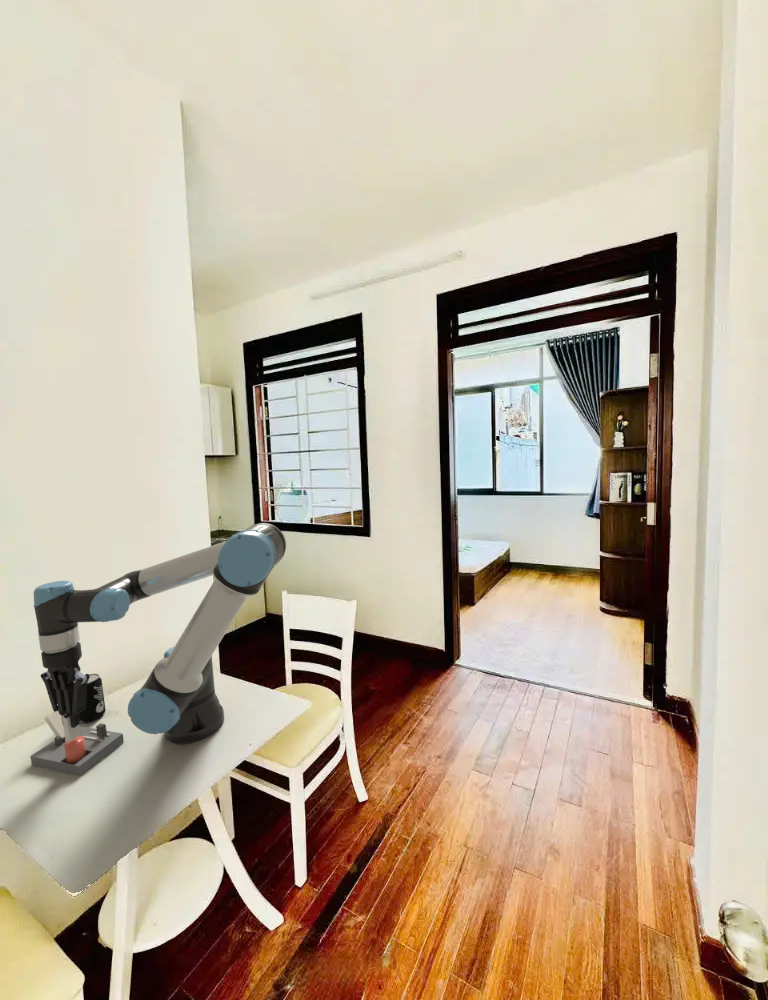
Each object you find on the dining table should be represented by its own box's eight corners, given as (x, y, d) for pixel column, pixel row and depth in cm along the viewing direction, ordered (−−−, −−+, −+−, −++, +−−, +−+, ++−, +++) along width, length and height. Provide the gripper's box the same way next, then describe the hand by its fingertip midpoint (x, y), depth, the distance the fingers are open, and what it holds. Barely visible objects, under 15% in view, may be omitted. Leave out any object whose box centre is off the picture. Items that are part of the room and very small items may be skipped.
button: (90, 754, 104) (88, 737, 104) (74, 765, 100) (72, 748, 100) (78, 751, 105) (76, 734, 105) (62, 763, 102) (60, 745, 101)
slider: (107, 734, 110) (105, 724, 109) (102, 737, 109) (101, 727, 108) (101, 733, 110) (100, 723, 110) (97, 736, 109) (96, 726, 109)
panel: (123, 742, 111) (121, 726, 111) (80, 775, 100) (77, 758, 99) (78, 733, 116) (76, 718, 115) (31, 765, 104) (29, 748, 104)
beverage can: (92, 725, 119) (86, 685, 118) (73, 723, 121) (67, 684, 119) (111, 711, 126) (106, 673, 124) (93, 709, 127) (88, 672, 126)
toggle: (74, 732, 111) (58, 709, 111) (63, 740, 108) (46, 716, 109) (72, 735, 111) (55, 712, 112) (60, 742, 108) (44, 718, 109)
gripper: (96, 641, 102) (107, 731, 104) (56, 637, 105) (68, 724, 108) (65, 656, 94) (78, 752, 97) (24, 651, 98) (37, 744, 101)
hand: (73, 737), depth 102 cm, fingers closed
